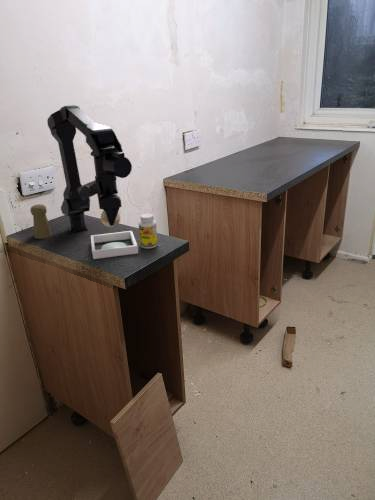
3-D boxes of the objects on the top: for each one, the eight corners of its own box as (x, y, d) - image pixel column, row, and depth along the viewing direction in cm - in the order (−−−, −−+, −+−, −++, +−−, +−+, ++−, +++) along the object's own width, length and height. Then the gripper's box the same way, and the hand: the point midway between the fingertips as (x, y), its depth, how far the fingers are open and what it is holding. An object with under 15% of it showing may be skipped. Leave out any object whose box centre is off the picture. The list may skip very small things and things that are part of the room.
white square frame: (91, 242, 132) (90, 235, 131) (132, 237, 135) (131, 230, 134) (93, 259, 120) (92, 251, 119) (138, 253, 122) (137, 245, 121)
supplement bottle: (136, 247, 127) (134, 217, 123) (146, 241, 131) (144, 211, 127) (151, 250, 124) (149, 219, 120) (161, 244, 129) (159, 214, 125)
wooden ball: (120, 222, 128) (118, 204, 125) (122, 228, 122) (120, 210, 120) (101, 224, 126) (99, 206, 124) (102, 230, 121) (100, 212, 119)
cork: (46, 231, 143) (40, 201, 138) (55, 234, 139) (50, 204, 135) (30, 236, 139) (24, 206, 134) (40, 240, 135) (34, 209, 131)
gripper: (77, 168, 124) (84, 215, 130) (77, 182, 107) (85, 235, 114) (113, 165, 126) (118, 212, 133) (118, 178, 110) (124, 231, 116)
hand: (111, 222), depth 124 cm, fingers closed on wooden ball, 6 cm apart
